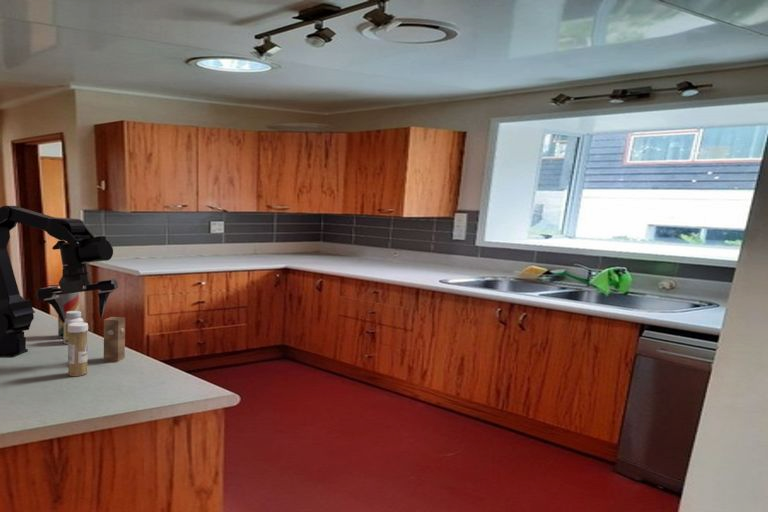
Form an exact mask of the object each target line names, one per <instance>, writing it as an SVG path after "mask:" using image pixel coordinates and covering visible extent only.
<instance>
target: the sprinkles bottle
mask: <svg viewBox="0 0 768 512" xmlns="http://www.w3.org/2000/svg"><path fill="white" fill-rule="evenodd" d="M88 330H89V324H88V322H75V323H70V324H68V344H67V359H68V360H67V364H68V372H67V375H68V376H71V377H82V376H83V375H84V376H85V375H86V374H88V372H89V371H88V357H89V356H88V353H89V351H88Z"/></svg>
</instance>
